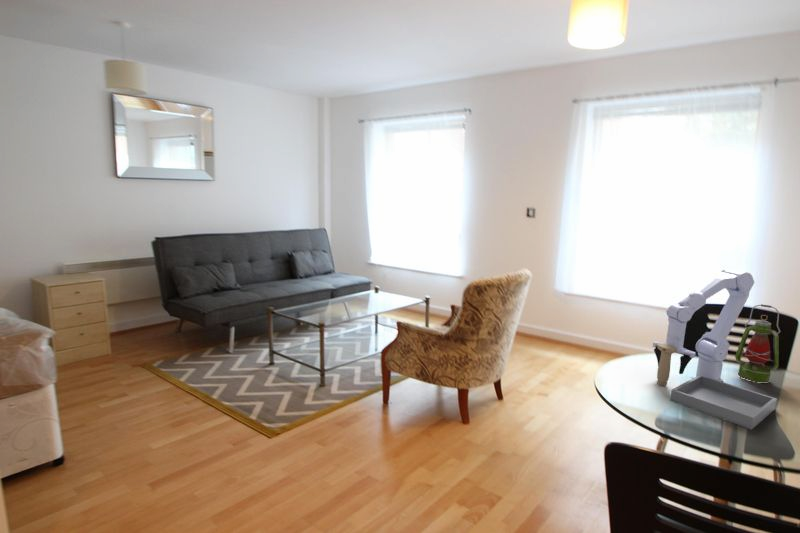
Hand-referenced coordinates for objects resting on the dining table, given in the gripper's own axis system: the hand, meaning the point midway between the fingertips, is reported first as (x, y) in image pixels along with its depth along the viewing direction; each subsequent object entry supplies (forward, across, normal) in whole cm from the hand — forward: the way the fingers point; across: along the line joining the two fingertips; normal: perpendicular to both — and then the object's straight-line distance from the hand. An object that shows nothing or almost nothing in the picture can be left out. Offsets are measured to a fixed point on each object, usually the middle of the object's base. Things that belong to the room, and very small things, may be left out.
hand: (670, 369), depth 183 cm
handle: (+5, 0, -6) cm, 8 cm away
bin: (+4, +20, -6) cm, 21 cm away
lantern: (+5, +18, +33) cm, 38 cm away
